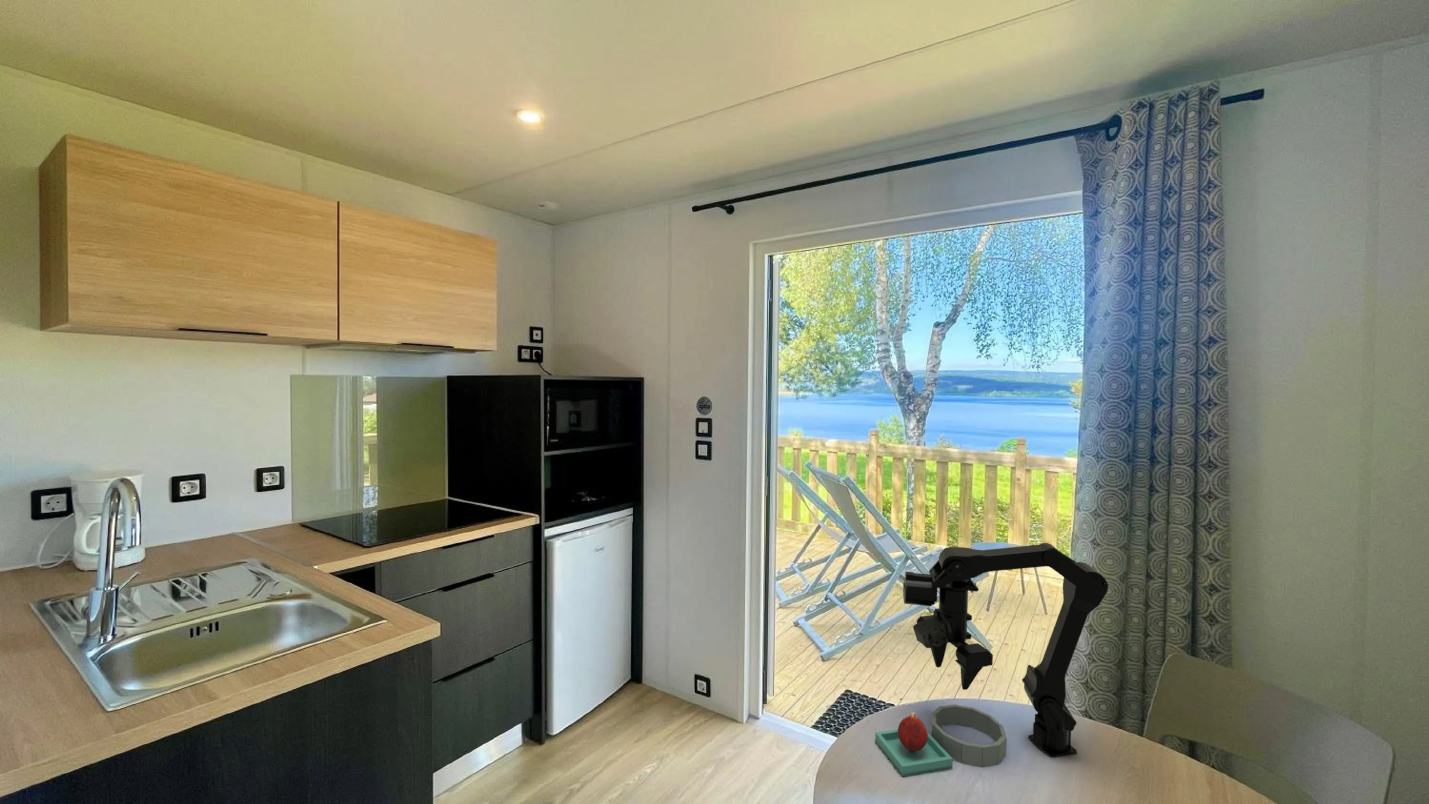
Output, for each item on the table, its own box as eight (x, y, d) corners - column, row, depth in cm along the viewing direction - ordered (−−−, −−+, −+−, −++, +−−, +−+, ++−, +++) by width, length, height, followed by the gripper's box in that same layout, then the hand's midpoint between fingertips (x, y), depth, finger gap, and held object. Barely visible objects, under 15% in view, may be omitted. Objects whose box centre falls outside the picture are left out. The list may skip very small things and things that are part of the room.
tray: (921, 735, 122) (921, 725, 122) (952, 768, 112) (952, 758, 112) (875, 741, 120) (875, 732, 120) (902, 776, 109) (902, 766, 109)
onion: (929, 762, 112) (930, 724, 112) (899, 758, 114) (900, 720, 113) (924, 744, 118) (925, 707, 118) (895, 740, 119) (896, 703, 119)
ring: (974, 718, 128) (974, 701, 128) (1020, 760, 114) (1021, 741, 114) (918, 726, 125) (918, 709, 125) (958, 770, 111) (959, 751, 111)
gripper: (896, 594, 130) (895, 660, 130) (947, 630, 111) (944, 707, 112) (939, 590, 132) (937, 655, 133) (995, 625, 114) (993, 700, 115)
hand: (951, 677), depth 123 cm, fingers open, 9 cm apart
